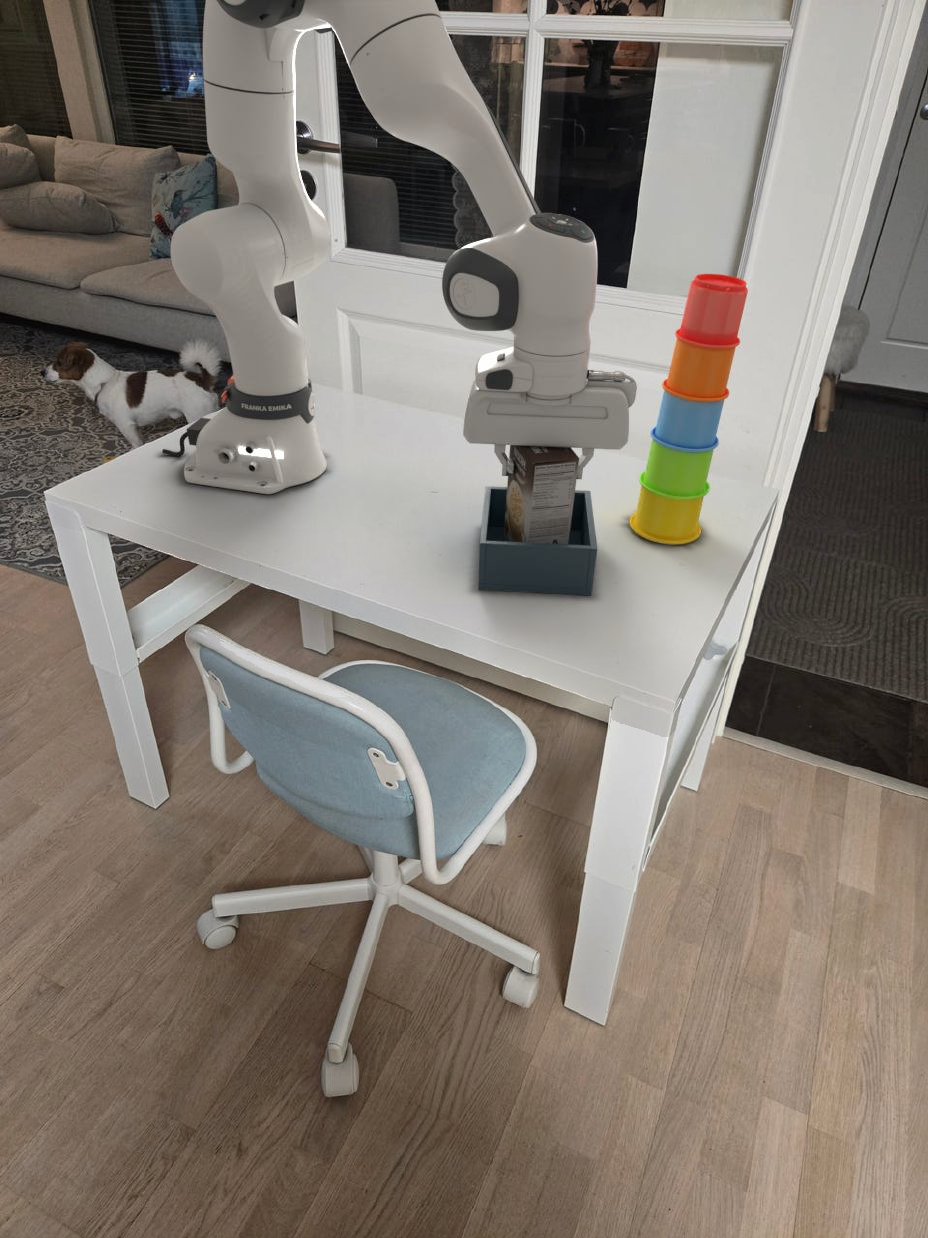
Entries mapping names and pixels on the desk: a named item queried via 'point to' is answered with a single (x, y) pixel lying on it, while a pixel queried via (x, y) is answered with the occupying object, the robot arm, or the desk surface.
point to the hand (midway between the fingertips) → (541, 475)
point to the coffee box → (540, 494)
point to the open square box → (537, 552)
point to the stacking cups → (690, 412)
